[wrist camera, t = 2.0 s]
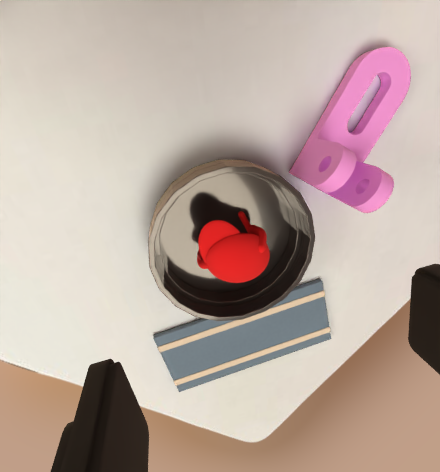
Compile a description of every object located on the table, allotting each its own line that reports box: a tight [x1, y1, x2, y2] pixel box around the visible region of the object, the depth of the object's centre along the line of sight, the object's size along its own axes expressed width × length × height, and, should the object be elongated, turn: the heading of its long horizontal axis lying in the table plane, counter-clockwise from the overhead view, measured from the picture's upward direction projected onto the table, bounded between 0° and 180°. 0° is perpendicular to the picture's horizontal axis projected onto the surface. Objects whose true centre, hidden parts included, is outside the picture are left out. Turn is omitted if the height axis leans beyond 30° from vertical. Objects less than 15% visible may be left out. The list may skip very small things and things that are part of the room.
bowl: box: [148, 159, 315, 321], centre depth 29 cm, size 15×15×4 cm
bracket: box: [289, 47, 411, 213], centre depth 26 cm, size 13×6×7 cm, turn 152°
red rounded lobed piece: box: [197, 211, 270, 283], centre depth 28 cm, size 8×6×6 cm
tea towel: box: [154, 279, 331, 392], centre depth 36 cm, size 20×9×1 cm, turn 105°
